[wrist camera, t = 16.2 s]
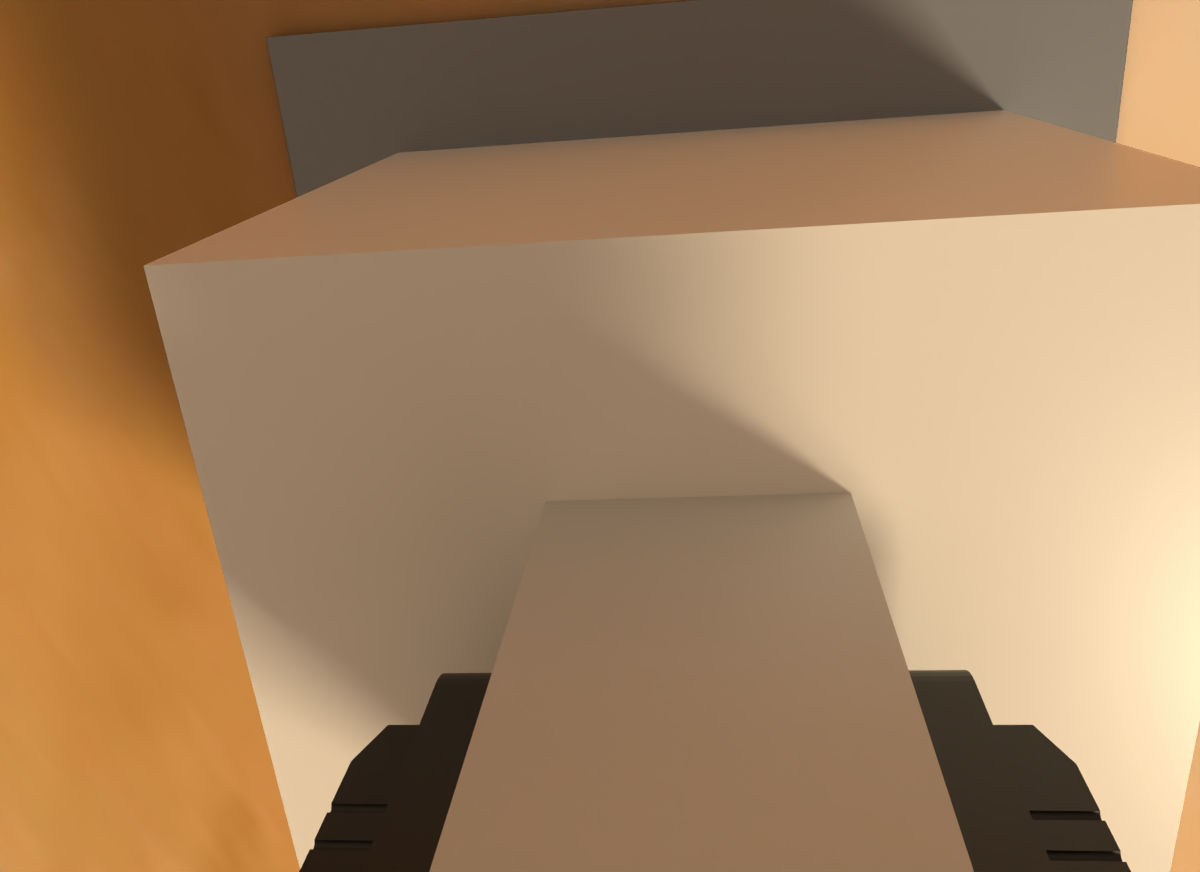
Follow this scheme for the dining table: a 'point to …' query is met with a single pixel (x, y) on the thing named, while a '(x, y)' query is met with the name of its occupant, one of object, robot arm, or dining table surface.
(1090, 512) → the cream plinth with post
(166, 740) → the dining table surface
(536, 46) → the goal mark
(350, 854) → the robot arm
